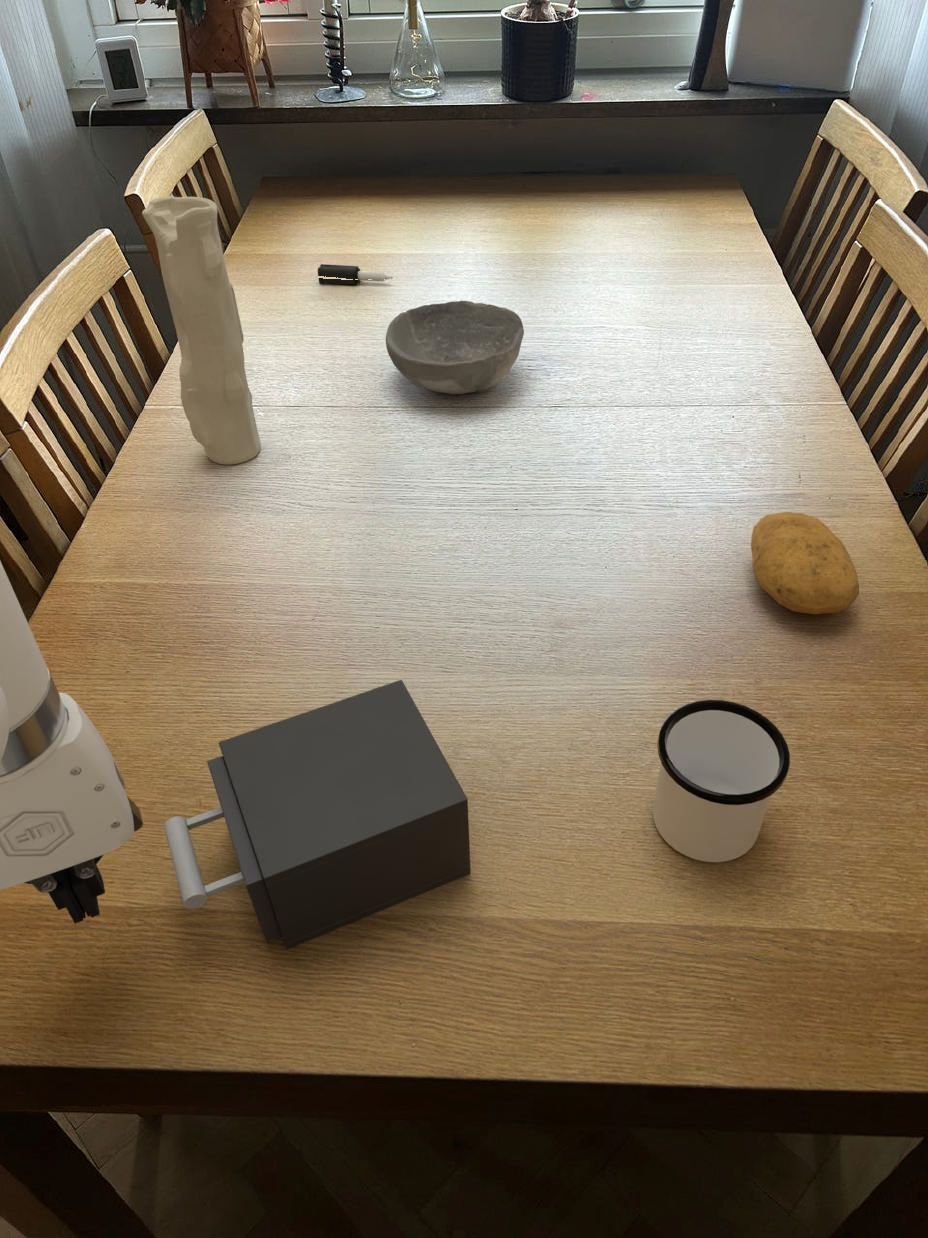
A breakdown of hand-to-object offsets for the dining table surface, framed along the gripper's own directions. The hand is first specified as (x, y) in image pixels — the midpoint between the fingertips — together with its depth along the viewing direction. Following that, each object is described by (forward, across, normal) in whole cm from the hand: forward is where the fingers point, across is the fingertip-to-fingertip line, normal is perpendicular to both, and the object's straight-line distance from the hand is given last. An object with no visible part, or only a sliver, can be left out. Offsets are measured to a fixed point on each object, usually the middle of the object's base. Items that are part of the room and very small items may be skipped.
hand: (84, 901), depth 63 cm
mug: (+6, +46, -8) cm, 47 cm away
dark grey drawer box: (+6, +19, +1) cm, 20 cm away
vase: (+4, +24, +60) cm, 65 cm away
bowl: (+4, +55, +64) cm, 84 cm away
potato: (+5, +69, +10) cm, 70 cm away
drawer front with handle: (+5, +15, +1) cm, 16 cm away
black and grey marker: (+3, +54, +100) cm, 114 cm away
